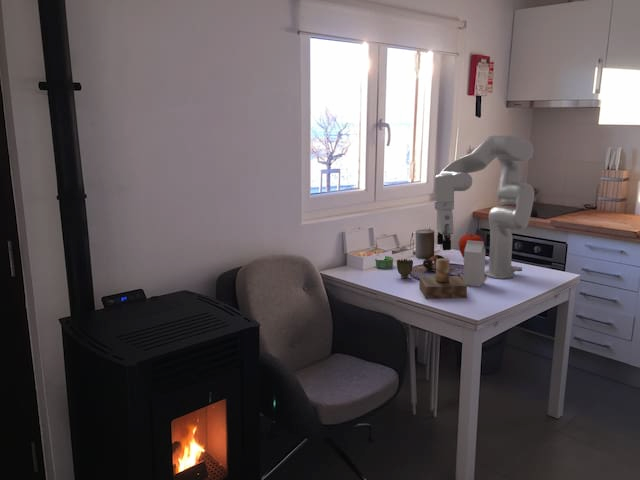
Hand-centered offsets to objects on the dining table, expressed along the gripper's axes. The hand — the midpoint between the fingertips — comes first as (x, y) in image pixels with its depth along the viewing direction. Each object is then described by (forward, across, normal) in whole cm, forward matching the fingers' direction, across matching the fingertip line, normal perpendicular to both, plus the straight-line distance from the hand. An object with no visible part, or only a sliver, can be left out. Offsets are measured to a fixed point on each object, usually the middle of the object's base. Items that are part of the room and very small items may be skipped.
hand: (443, 247), depth 219 cm
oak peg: (+19, 0, +1) cm, 19 cm away
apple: (+21, +48, -24) cm, 58 cm away
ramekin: (+20, +42, +20) cm, 51 cm away
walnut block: (+19, 0, +1) cm, 19 cm away
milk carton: (+20, +10, -15) cm, 27 cm away
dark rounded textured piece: (+20, +22, +13) cm, 32 cm away
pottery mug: (+20, +34, -3) cm, 39 cm away
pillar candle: (+20, +60, -3) cm, 63 cm away
